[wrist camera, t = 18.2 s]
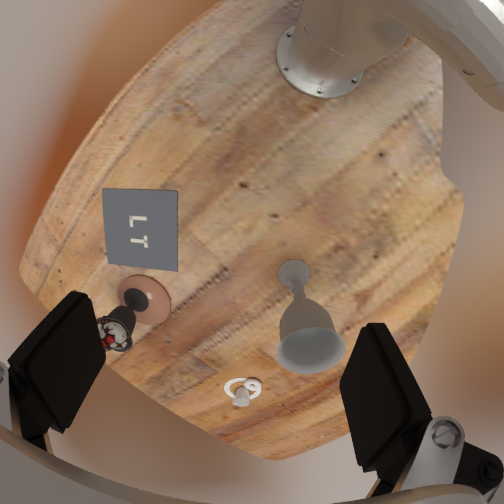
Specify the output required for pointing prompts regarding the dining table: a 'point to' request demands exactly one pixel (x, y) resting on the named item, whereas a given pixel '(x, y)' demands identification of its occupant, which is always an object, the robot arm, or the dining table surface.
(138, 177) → the dining table surface
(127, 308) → the sundae
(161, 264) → the card
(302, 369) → the chalice
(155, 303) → the coaster
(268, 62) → the dining table surface
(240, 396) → the teacup and saucer
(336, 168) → the dining table surface
